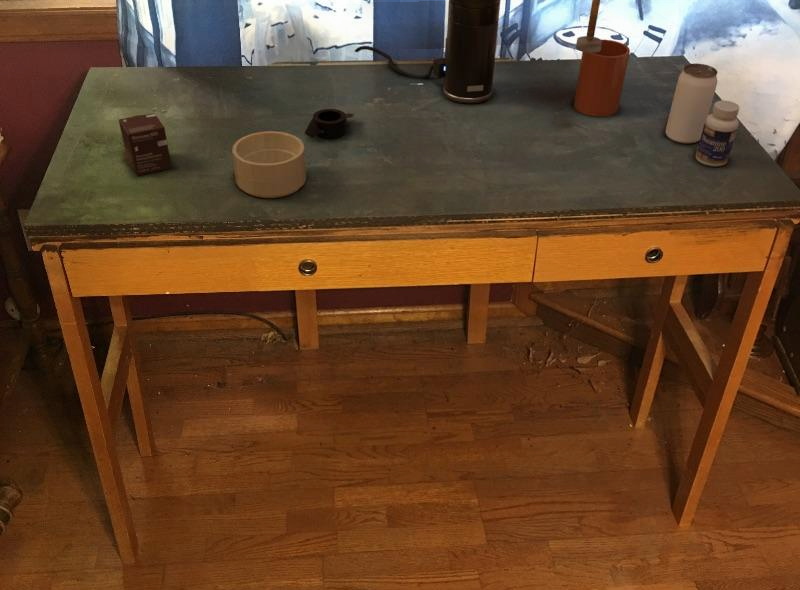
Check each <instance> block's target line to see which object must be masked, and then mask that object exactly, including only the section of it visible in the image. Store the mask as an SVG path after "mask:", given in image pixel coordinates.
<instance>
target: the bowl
mask: <svg viewBox="0 0 800 590" xmlns="http://www.w3.org/2000/svg"><path fill="white" fill-rule="evenodd" d="M231 152H232V158H233V159H232V160H233V168H234V169H233V170H234V176H235V184H236V185H237V186H238V187H239V189H241V190H242V191H243V192H245V193H246V194H247V195H250V196H253V197H256V198H261V199H276V198H277V199H278V198H283V197H286V196H290V195H292V194H294V193H296V192H297V191H299V190H300V189H301V188H302V187H303V186H304V184H305V183H306V181H307V170H306V169H307V168H306V155H305V143H304V142H303V141H302V140H301V138H300V137H297V136H296V135H294V134H290V133H287V132H284V131H274V130H273V131H270V130H269V131H259V132H254V133H250V134H248V135H245V136H243V137H241V138H239V139H238V140H237V141H235V142H234V144H233V145H232V151H231Z"/></svg>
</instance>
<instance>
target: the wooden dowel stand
mask: <svg viewBox="0 0 800 590" xmlns="http://www.w3.org/2000/svg"><path fill="white" fill-rule="evenodd" d="M600 4H601V0H591V5H590V6H591V7H590V13H589V19H588V24H587V31H586V35H583V36H579V37H577V38H576V43H575V49H576V50H577V51H579V52H581V53H582V52H586V53H596V52H599V51H600V50H601V45H602V40H603V39H601V38H599V37H596V36H595V33H596V27H597V22H598V17H599V11H600Z"/></svg>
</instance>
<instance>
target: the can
mask: <svg viewBox="0 0 800 590" xmlns="http://www.w3.org/2000/svg"><path fill="white" fill-rule="evenodd" d="M717 75H718V70H717V68H715V67H713V66H711V65H708V64H705V63H688V64H686V65H684V66H683V70H682V71H681V73H680V74H679V76H678V79H677V82H676V87H675V91H674V95H673V99H672V102H671V106H670V110H669V114H668V119H667V123H666V126H665V127H666V128H665V130H664V131H665V135H666V137H667V138H668V139H669V140H671V141H672V142H674V143H678V144H683V145H691V144H696V143H699V141H700V138H701V134H702V131H703V127H704V123H705V120H706V118H707V116H708V115H710V110H711V108H712V104H713V100H714V96H715V94H716V91H717V90H716V89H717V86H718V76H717Z"/></svg>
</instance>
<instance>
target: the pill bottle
mask: <svg viewBox="0 0 800 590" xmlns="http://www.w3.org/2000/svg"><path fill="white" fill-rule="evenodd" d="M739 110H740V106H739V104H737V103H736V102H733V101H730V100H718V101H715V103H714V105H713V107H712V111H711V113H709V115H708V116H707V118H706V120H705V123H704V127H703V131H702V134H701V138H700V140H699V141H698V145H697V149H696V153H695V160H697V162H698V163H701V164H702V165H704V166H708V167H715V168H716V167H722V166H725V165H726V164H727V162H728V160H729V157H730V155H731V151H732V149H733V145H734V142H735V139H736V136H737V133H738V129H739V125H740V122H739V120H738V118H737V116H738V115H739Z"/></svg>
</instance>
